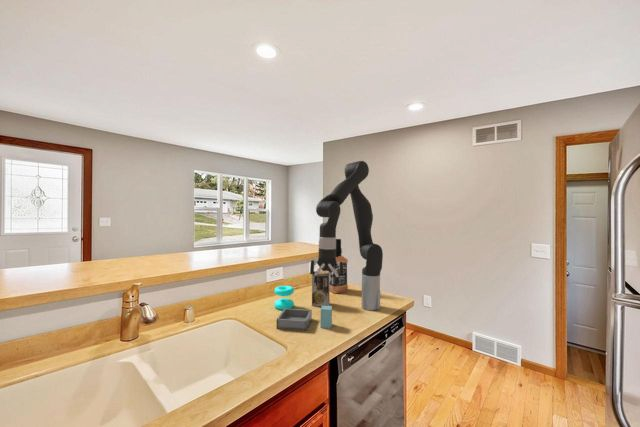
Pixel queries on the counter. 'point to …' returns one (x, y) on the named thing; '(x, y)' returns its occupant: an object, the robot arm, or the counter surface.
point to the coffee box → (320, 290)
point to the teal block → (326, 317)
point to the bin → (294, 319)
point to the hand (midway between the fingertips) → (326, 284)
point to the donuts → (284, 302)
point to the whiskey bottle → (342, 279)
